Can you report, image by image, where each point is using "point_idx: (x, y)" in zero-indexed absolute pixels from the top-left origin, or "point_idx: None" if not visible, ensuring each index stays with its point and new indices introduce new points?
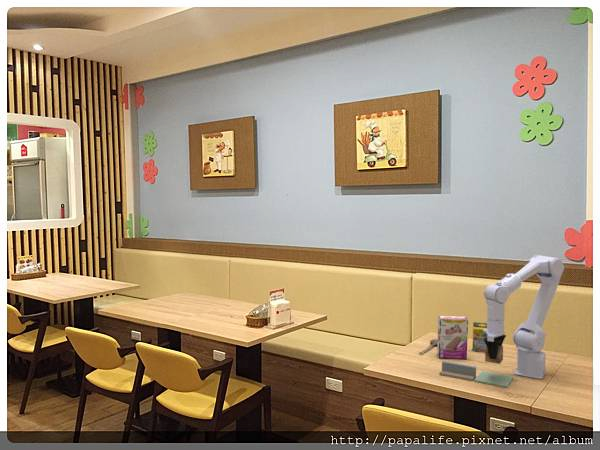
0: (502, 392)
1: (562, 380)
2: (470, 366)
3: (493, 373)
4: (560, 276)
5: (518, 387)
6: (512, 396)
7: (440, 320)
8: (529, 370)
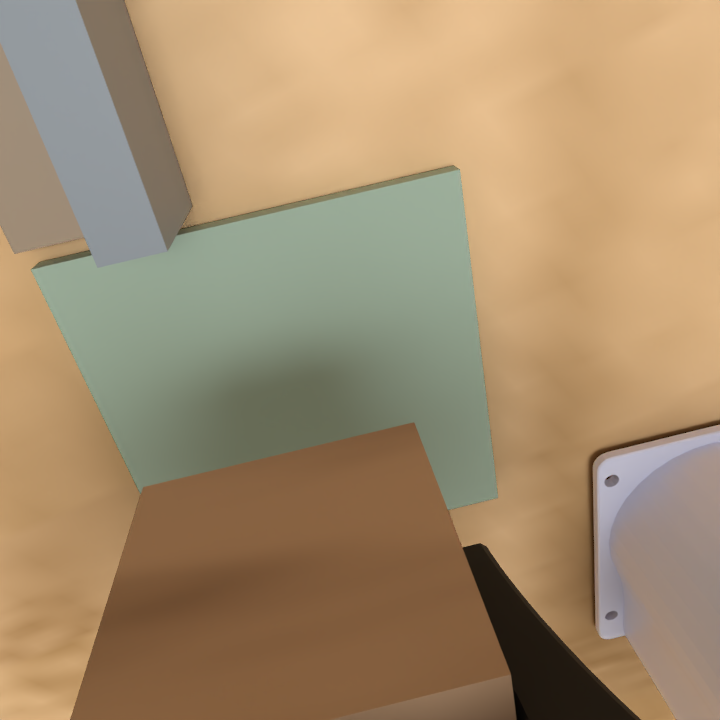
0: (28, 589)
1: (660, 698)
2: (90, 166)
3: (450, 326)
4: None
5: None
6: (23, 666)
7: None
8: (640, 603)
